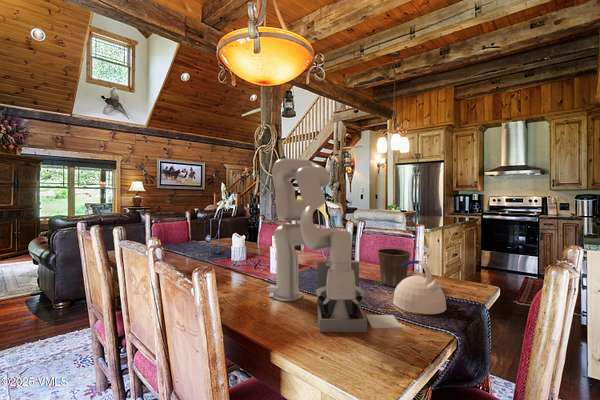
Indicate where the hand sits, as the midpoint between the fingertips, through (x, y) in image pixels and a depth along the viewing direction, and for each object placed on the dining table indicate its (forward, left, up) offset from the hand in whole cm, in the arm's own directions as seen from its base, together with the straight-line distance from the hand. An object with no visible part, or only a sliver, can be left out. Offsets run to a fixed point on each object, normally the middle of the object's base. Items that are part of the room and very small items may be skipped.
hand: (340, 314), depth 109 cm
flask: (0, 0, -3) cm, 3 cm away
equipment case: (0, 0, -3) cm, 3 cm away
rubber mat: (+15, 0, -3) cm, 15 cm away
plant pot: (+32, +46, -3) cm, 56 cm away
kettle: (+34, +17, -3) cm, 38 cm away
